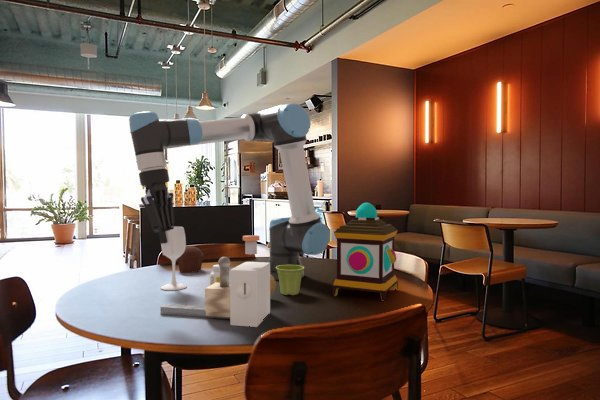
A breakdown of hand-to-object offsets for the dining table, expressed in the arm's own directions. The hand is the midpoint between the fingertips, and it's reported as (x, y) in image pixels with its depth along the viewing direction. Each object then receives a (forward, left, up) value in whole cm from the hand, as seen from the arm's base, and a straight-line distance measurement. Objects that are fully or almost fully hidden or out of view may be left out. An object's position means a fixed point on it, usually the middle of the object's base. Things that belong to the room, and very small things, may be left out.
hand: (168, 254), depth 114 cm
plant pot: (-36, -16, -16) cm, 43 cm away
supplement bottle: (-13, -16, -16) cm, 26 cm away
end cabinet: (-22, +9, -16) cm, 29 cm away
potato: (-24, -8, -16) cm, 30 cm away
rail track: (-9, +4, -16) cm, 19 cm away
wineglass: (+3, -29, -16) cm, 34 cm away
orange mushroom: (-22, +9, +1) cm, 24 cm away
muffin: (+1, -59, -16) cm, 62 cm away
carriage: (-15, +6, -15) cm, 23 cm away
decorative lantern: (-61, -13, -16) cm, 64 cm away
